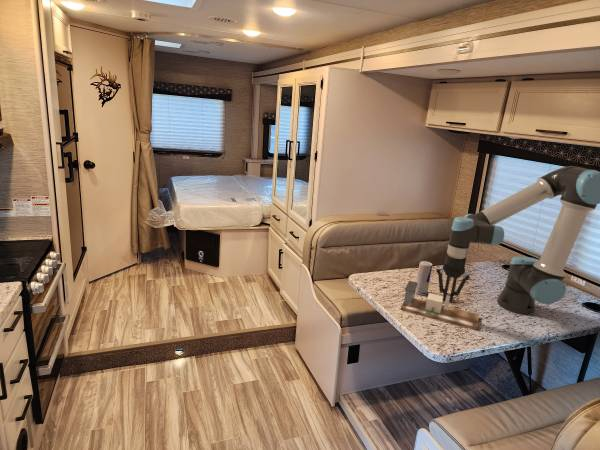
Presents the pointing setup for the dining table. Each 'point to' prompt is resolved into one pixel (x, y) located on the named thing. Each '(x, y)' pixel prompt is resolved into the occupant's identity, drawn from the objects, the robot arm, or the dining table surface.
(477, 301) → the dining table surface
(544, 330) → the dining table surface
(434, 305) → the cream cube with rod
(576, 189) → the robot arm
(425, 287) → the beverage can
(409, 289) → the two-tone oblong block
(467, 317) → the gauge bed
